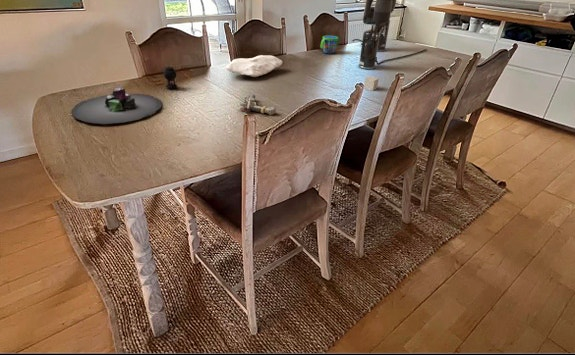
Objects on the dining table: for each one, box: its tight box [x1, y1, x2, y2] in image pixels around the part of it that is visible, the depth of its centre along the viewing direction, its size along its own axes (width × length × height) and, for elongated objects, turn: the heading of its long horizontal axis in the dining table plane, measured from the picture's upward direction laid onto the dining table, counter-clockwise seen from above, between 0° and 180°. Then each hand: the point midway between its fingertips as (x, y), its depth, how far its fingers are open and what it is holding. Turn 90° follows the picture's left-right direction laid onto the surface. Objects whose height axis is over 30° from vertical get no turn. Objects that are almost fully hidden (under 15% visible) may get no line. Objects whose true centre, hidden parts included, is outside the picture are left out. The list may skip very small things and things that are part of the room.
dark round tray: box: [70, 86, 163, 125], centre depth 150 cm, size 35×35×9 cm
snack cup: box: [319, 34, 340, 55], centre depth 242 cm, size 16×10×10 cm
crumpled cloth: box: [225, 54, 283, 78], centre depth 198 cm, size 24×35×9 cm
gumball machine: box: [161, 66, 179, 90], centre depth 173 cm, size 7×6×10 cm
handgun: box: [239, 93, 277, 116], centre depth 158 cm, size 3×18×15 cm
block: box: [363, 75, 380, 91], centre depth 185 cm, size 5×5×5 cm
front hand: (376, 46), depth 175 cm, fingers open, 8 cm apart
